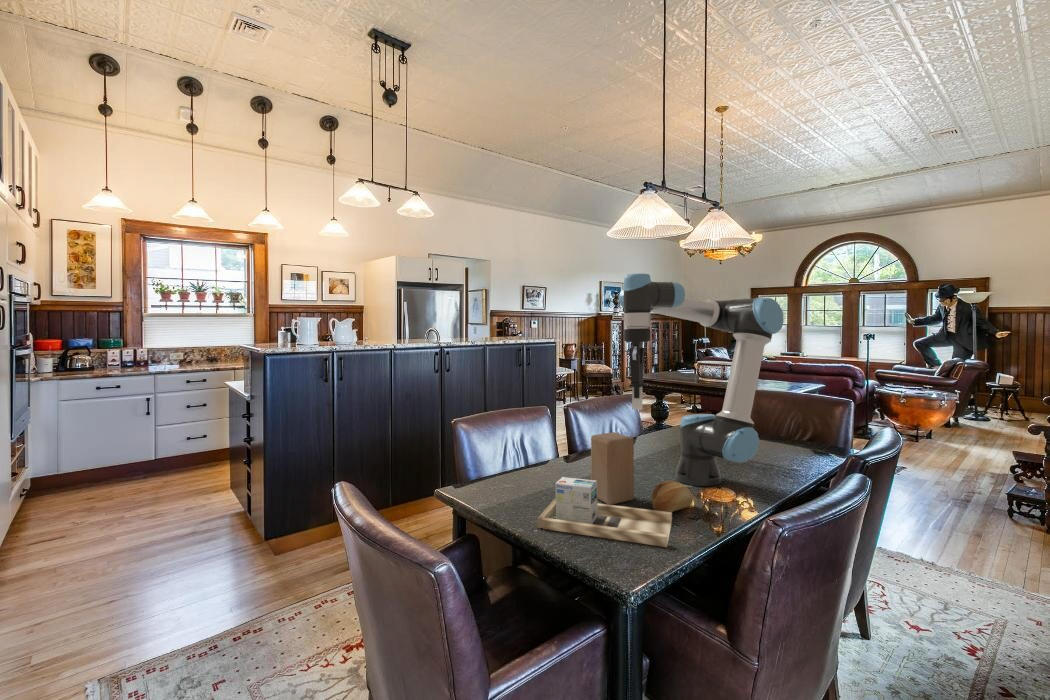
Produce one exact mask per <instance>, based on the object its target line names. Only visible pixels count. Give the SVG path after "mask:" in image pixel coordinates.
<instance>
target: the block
mask: <svg viewBox="0 0 1050 700" xmlns="http://www.w3.org/2000/svg"><path fill="white" fill-rule="evenodd" d="M634 442H635V441H634V438H633V437H631V436H629V435H628V436H627V435H625V434H622V433H619V432H615V431H612V432H606V433H599V434H593V435H591V436H590V474H591V475H590V480H596V481H597V500H599V501H600V502H603V504H608V505H616V504H620V503H624V502H625V503H626V502H629V501H633V500H634V498H635V493H634V491H635V486H634V485H635V479H634V470H635V468H634V467H635V465H634V463H635V462H634V461H635V458H634V454H635V452H634V451H635V448H634V447H635V445H634Z"/></svg>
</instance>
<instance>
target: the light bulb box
mask: <svg viewBox="0 0 1050 700" xmlns="http://www.w3.org/2000/svg"><path fill="white" fill-rule="evenodd" d="M554 487H555V491H554V493H555V498H556V519H558V520H565V521H573V522H580V523H587V524H593V522H594V521H595V519H596V518H597V503H598V499H597V481H596V480H591V479H586V478H584V479H583V478H576V477H575V478H574V477H566V476H561V478H560V479H558V480H557V481H556V482H555V485H554Z"/></svg>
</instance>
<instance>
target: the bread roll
mask: <svg viewBox="0 0 1050 700" xmlns="http://www.w3.org/2000/svg"><path fill="white" fill-rule="evenodd" d="M693 500H694V499H693V494H692V492H691V490H690V489H689V488H688V487H687V486H686V485H684V483H682V482H679V481H678V482H677V480H676V481H675V480H673V481H672V480H666V481H662V482H660V483H658V484H657V485H656V486H655V487H654V489H653V491H652V495H651V504H652V508H653V510H656V511H665V512H672V513H673V512H676V511H679V510H682V509H686V508H689V507H690V506H691V505H692V504H693Z"/></svg>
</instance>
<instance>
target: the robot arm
mask: <svg viewBox="0 0 1050 700" xmlns="http://www.w3.org/2000/svg"><path fill="white" fill-rule="evenodd" d="M622 288H623V289H621V290H620V292H619V294H618V301H619V302H618V303H619V305H620V306H621V308H623V316H622V317H621V320H622V321H623V326H624V327H625V329H624V330H623V341H624V342H625V343H627V342H628V343H629V342H631V347H630V348H629V349H628V350H629V351H628V352H629V354H628V356H629V362H630V384H629V388H631V393H632V396H631V402H632V404H631V409H632V410H640V411H641V410H643V387H645V386H646V384H645V383H644V362H645V353H646V352H645V351H646V350H645V349H646V348H645V347H643V345H644V344H643V343H644V342H645V343H647V342H650V341H651V337H652V336H651V329H650V328H649V327H651V317H652V313H653V314H657V315H662V316H663V315H664V316H668V317H673V318H677V319H681V320H687V321H691V322H697V323H699V324H700V325H701V326H703V327H706V328H710V329H713V330H718V331H721V332H726V333H731V334H732V337H733V339H735V340H736V342H735V347H734V352H733V356H732V360H731V361H732V362H731V365H730V366H731V367H730V369H729V370H730V371H729V376H728V380H727V386H726V390H725V394H724V400H723V404H722V409H721V411H720V412H718V413H716V414H712V413H696V414H686V415H683V416H682V417H681V419H680V426H679V427H680V428H679V429H680V458H679V461H678V463H677V467H676V470H675V480H676V481H678V482H679V483H681V484H685V485H690V486H695V487H697V486H698V487H714V486H718V485H720V484H721V483H722V475H721V472H720V468H719V465H718V462H717V458H720V459H724V460H726V461H729V462H735V463H745V462H748V461H749V460H750V459H752V458H753V457H754V455H756V453H757V451H758V448H759V445H760V437H759V434H758V432H757V431H756V430H755V428H754V426H755V422H754V421H753V420H752V418H751V415H752V411H753V410H752V409H753V405H754V400H755V395H756V390H757V384H758V380H759V375H760V370H761V365H762V362H763V361H762V360H763V355H764V350H765V348H766V345H767V344H769V343H771V341H772V338H773V335H774V334H775V335H776V334H777V333H779V332H780V331H781V329H782V328H783V325H784V321H785V320H784V319H785V317H784V312H783V309H782V308H781V305H780V304H779V302H778V301H777V300H775V298H774V299H773V298H772V297H759V296H758V297H754V298H753V297H751V298H741V299H740V298H739V299H726V300H714V299H707V300H702V299H697V298H693V297H689V296H686V295H685V294H686V291H685V287H684V286H683V285H682V284H681V283H679V282H673V281H652V279H651V275H650V274H649V273H642V272H641V273H629V274H626V275H625V276H624V279H623V287H622Z"/></svg>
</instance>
